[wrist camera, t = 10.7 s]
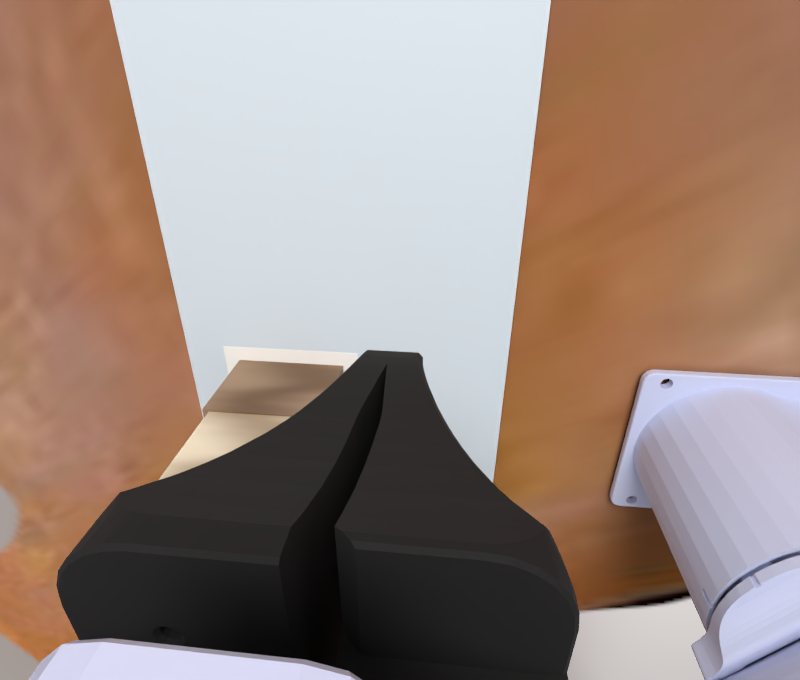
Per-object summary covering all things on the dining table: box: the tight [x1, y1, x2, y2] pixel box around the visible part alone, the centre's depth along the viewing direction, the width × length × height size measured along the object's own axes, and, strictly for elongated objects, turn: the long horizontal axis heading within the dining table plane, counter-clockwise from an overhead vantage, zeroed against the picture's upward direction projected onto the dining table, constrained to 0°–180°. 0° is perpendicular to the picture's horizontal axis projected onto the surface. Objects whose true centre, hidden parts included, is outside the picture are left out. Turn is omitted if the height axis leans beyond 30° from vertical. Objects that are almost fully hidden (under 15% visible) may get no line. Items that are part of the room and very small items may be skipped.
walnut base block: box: [202, 360, 344, 417], centre depth 23 cm, size 5×5×4 cm
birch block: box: [159, 412, 290, 480], centre depth 19 cm, size 4×4×5 cm
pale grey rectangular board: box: [110, 0, 551, 483], centre depth 22 cm, size 15×22×1 cm
